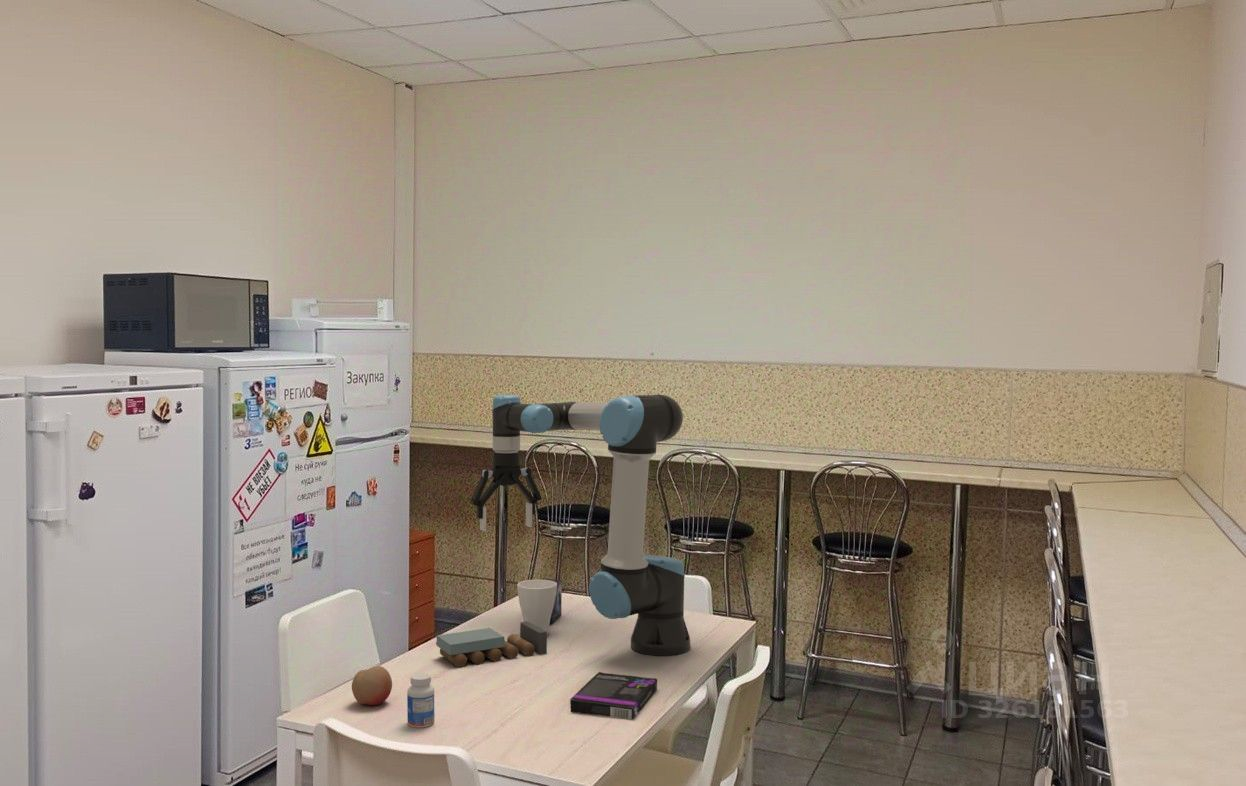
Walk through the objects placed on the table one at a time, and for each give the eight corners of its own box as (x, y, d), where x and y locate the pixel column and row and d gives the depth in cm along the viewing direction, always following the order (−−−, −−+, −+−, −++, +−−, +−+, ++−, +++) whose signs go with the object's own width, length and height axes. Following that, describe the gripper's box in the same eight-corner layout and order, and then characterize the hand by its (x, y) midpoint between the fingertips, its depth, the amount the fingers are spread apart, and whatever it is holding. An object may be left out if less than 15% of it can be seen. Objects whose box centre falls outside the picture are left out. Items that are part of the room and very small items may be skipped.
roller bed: (535, 654, 256) (535, 642, 255) (455, 668, 245) (455, 655, 245) (517, 644, 264) (517, 633, 264) (439, 657, 253) (439, 644, 253)
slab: (504, 646, 252) (504, 636, 252) (450, 655, 244) (450, 644, 244) (489, 637, 259) (489, 627, 259) (436, 645, 252) (436, 635, 252)
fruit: (371, 695, 226) (371, 659, 225) (399, 702, 221) (399, 665, 221) (344, 706, 219) (344, 668, 218) (372, 713, 215) (372, 675, 214)
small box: (552, 625, 283) (553, 587, 282) (529, 624, 284) (530, 586, 284) (562, 615, 293) (562, 578, 293) (540, 614, 294) (540, 577, 294)
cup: (509, 637, 271) (510, 586, 270) (528, 627, 280) (528, 578, 280) (545, 641, 267) (546, 590, 266) (563, 631, 277) (563, 581, 276)
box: (632, 724, 212) (658, 691, 231) (633, 707, 212) (658, 676, 230) (569, 715, 216) (599, 684, 235) (569, 699, 216) (599, 669, 235)
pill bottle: (409, 718, 211) (408, 671, 211) (435, 718, 212) (435, 671, 211) (405, 728, 206) (405, 680, 206) (433, 728, 206) (433, 680, 206)
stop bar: (546, 653, 257) (546, 631, 256) (539, 654, 256) (539, 632, 255) (527, 642, 266) (527, 621, 266) (520, 643, 265) (520, 622, 265)
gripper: (542, 448, 293) (541, 522, 294) (458, 452, 281) (458, 529, 282) (553, 450, 286) (553, 526, 287) (468, 454, 274) (468, 534, 275)
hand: (506, 528), depth 284 cm, fingers open, 13 cm apart
